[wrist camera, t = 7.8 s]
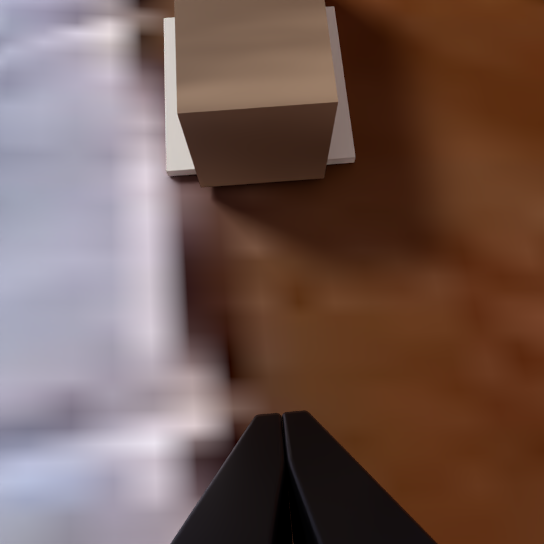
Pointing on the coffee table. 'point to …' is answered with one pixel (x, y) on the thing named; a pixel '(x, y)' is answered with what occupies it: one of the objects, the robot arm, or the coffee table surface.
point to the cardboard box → (255, 89)
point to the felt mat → (175, 140)
